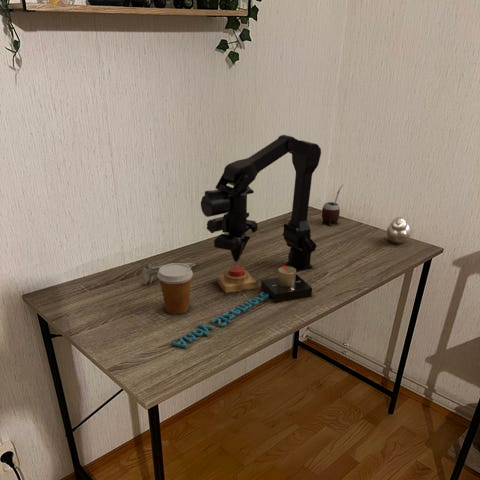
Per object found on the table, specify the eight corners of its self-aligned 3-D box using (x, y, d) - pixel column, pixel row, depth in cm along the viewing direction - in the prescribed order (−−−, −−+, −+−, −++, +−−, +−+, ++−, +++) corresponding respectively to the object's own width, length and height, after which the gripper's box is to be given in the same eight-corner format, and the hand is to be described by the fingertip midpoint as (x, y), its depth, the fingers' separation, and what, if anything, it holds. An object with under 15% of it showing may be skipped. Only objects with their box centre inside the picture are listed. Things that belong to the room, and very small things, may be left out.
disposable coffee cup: (180, 320, 133) (177, 280, 127) (153, 310, 137) (149, 271, 131) (200, 306, 140) (199, 267, 134) (174, 297, 144) (172, 259, 138)
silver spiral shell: (378, 241, 185) (383, 215, 179) (396, 236, 189) (400, 211, 184) (397, 249, 178) (402, 222, 173) (414, 244, 183) (420, 218, 178)
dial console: (295, 282, 153) (296, 273, 152) (311, 296, 145) (312, 287, 144) (260, 288, 150) (261, 279, 148) (274, 303, 142) (275, 293, 140)
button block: (246, 277, 156) (246, 265, 154) (256, 288, 150) (256, 276, 148) (216, 282, 153) (216, 270, 151) (225, 293, 147) (225, 281, 145)
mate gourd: (320, 225, 199) (324, 188, 192) (321, 219, 206) (324, 183, 198) (339, 226, 198) (343, 189, 191) (339, 220, 205) (343, 184, 197)
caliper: (145, 285, 151) (144, 266, 147) (143, 284, 151) (142, 265, 148) (196, 266, 163) (195, 248, 160) (193, 265, 164) (193, 247, 161)
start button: (240, 270, 152) (240, 265, 151) (245, 276, 149) (245, 271, 148) (227, 272, 151) (227, 267, 150) (232, 278, 147) (232, 273, 146)
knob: (298, 286, 145) (299, 271, 142) (282, 288, 143) (283, 273, 141) (290, 278, 149) (291, 264, 146) (274, 281, 147) (275, 266, 145)
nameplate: (168, 343, 123) (182, 351, 120) (168, 341, 122) (182, 348, 119) (260, 293, 147) (273, 298, 144) (260, 290, 146) (273, 296, 144)
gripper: (224, 198, 150) (224, 246, 158) (196, 216, 135) (197, 268, 143) (258, 202, 146) (257, 251, 154) (233, 221, 131) (233, 275, 139)
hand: (236, 261), depth 147 cm, fingers closed
